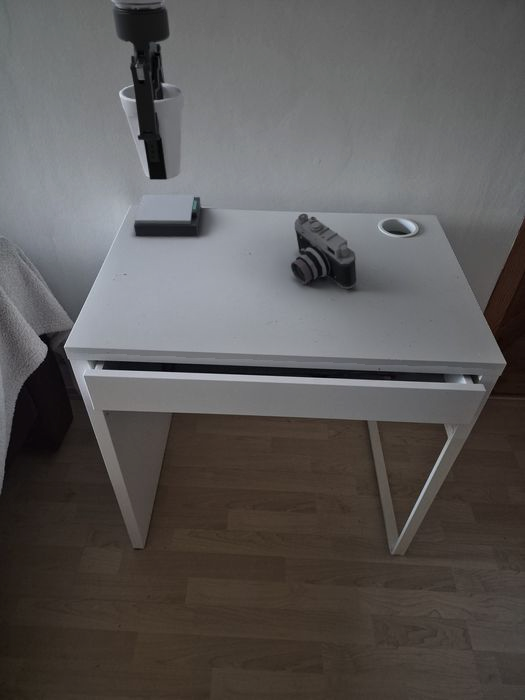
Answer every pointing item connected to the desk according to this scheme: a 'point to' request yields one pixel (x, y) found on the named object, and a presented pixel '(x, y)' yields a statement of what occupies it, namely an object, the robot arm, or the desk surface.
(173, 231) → the scale
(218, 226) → the desk surface
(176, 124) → the cup
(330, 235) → the camera
